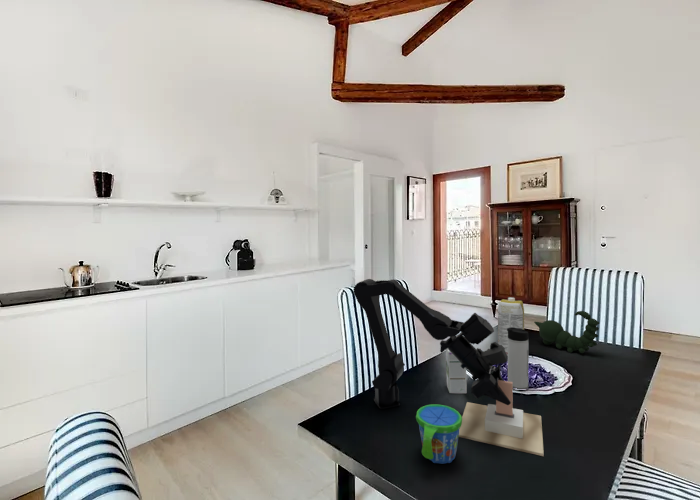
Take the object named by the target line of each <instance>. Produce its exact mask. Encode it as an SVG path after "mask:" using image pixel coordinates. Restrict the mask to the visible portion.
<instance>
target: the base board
mask: <svg viewBox="0 0 700 500" xmlns="http://www.w3.org/2000/svg"><path fill="white" fill-rule="evenodd" d="M487 407H488V405H485V404H479V403H473V402H468V401H467V402H466V404H465V407H464V410H463V414H462V415H461V416H462V424H461V427H460V429H459V437H458V438H463V439H467V440H470V441H471V440H472V441H475V442H480V443H485V444H488V445H493V446H497V447H501V448H506V449H509V450H515V451H518V452H523V453H527V454H533V455H536V456H541V457H545V456H544V439H543V437H544V436H543V426H542V423H543V422H542V416H541V415H538V414H532V413H527V412H523V439H522V438H517V437H512V436H508V435H503V434H498V433H494V432H489V431H485V417H486V412H487Z"/></svg>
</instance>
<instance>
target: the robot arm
mask: <svg viewBox="0 0 700 500" xmlns="http://www.w3.org/2000/svg"><path fill="white" fill-rule="evenodd" d="M353 295H354V296H355V300H356V301H357V303H358V305H359V306H360V307H361V308H362V309H363V311H364V312H365V315H366V318H367V322H368V325H369V329H370V332H371V335H372V338H373V341H374V344H375V348H376V351H377V355H378V357H377V359H378V360H377V369H378V375H377V376H376V377H375V378H374V379H373V380H372V381H371V382H372V386H373V388H374V391H375V392H374V393H375V394H374V395H375V396H374V397H373V401H374V402H375V404H376V405H377V407H378V408H379V409H380V410H385V409H389V408H395V407H399V406H400V405H401V404H400V402H399V401H400V395H399V394H400V391H399V387H398V384H397V381H398V379H400V377H401V376H402V375H403V373H404V370H405V369H404V367H405V366H406V364H405V363H404V360H403V357H402V354H401V352H400V353H396V351H395V350H394V348H393V347H392V343H391V340H390V336H389V334H388V331H387V326H386V324H385V323H386V322H385V321H384V317H383V314H382V311H381V308H380V297H381V296H383V295H389V296H390V297H391V298H392V299H394V300H395V301H397V303H398V304H400V305H401V306H402V307H404V308H405V309H406V310H407V311H409V313H411V314H412V315H413V316H414V317H415V318H417V320H418V321H419V322H421V325H422V326H423V328H424V329H425V330H426V331H427V333H428V334H429V335H430V336H431V337H432V339H435V340H436V341H440V342H439V345H440V348H439V349H440V350H439V351H440V353H443V352H446V349H448V350H449V351H450V352H451V353H452V354H453V355H454V356H455V357H456V358H457V359H458V360H459V361H460V362H461V367H462V368H463V369H464V368H466V371H468V372H469V373H470V374H471V379H472V380H473V382H472V384H471V387H470V391H471V394H472V395H473V396H474V398H475V399H479V398H480V397H482V396H485V397H488V398H490V399H493V400H495V401H496V400H497V401H499V402H502V403H504V404H506V405H509V404H511V402H510V400H509V399H508V397H507V396H506V395H505V393H504V392H503V391H502V389H501V388H500V387H499V385H498V380H502V381H505V380H504V379H503V377H502V375H501V364H505V363H508V356H507V354H506V352H505V348H504V347H503V346H502V345H499V344H498V341H493V342H491V343H490V346H489V347H490V348H487V350H484V351H483V350H482V349H481V348H479V347H477V348H476V347H475V346H474V345H480V343H483V341H484V340H486V339H487V338H488V337H489V336H491V335H492V334H493V333H494V332H495V329H494V328H493V325H491V323H490V322H489V321H488V320H487V319H486V318H484V317H483V316H481V315H479V314H478V313H477V312H473V314H471V315H470V317H469V318H468V319H466V321H464V322H463V321H459V320H454V319H452V318H451V317H449V316H448V315H446V314H444V313H442V312H440V311H438V310H435V309H433V308H431V307H429V306H428V305H427V304H425V302H423V301H421V300H420V299H419V298H418V297H417V296H416V295H414V294H413V293H412V292H410V291H409V290H408V289H407V288H405V287H404V286H403V285H402V284H401V283H400V282H399V281H398V280H396V279H394V278H393V279H390V280H388V279H387V280H385V279H384V280H374V279H371V278H367V279H364V280H361V281H359V282H356V283H355V286H354V287H353ZM499 364H500V365H499ZM495 365H496V366H495ZM497 365H498V366H497Z"/></svg>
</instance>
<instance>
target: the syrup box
mask: <svg viewBox="0 0 700 500" xmlns="http://www.w3.org/2000/svg"><path fill="white" fill-rule="evenodd" d="M445 367H446V368H445V370H446V371H445V374H446V378H445V379H446V387H447V390H448V392H449V394H460V395H462V394H467V387H468V386H467V369H466V368H464V369H463V368H462V367H461V362H460V361H459V360H458V359H457V358H456V357H455V356H454V355H453V354H452V353H451V352H450V351H449V350H448V349H446V350H445Z"/></svg>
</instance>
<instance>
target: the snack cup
mask: <svg viewBox="0 0 700 500" xmlns="http://www.w3.org/2000/svg"><path fill="white" fill-rule="evenodd" d="M462 416H463V415H462V414H460V412H459V411H458V410H456V409H455V408H454V407H451V406H449V405H445V404H436V403H435V404H434V403H433V404H432V403H431V404H426V405H424V406H420V408H419V409H417V411H416V415H415V419H416V422H417V424H418V428H419V433H420V439H421V445H422V447H421V454H422V456H423V457H424V458H425V459H428V460H429V461H431V462H432V463H434V464H441V465H442V464H450V463H452V462H453V460H455V458H456V454H457V451H458V442H459V438H460V437H459V429H460V427H461V424H462Z"/></svg>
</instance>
